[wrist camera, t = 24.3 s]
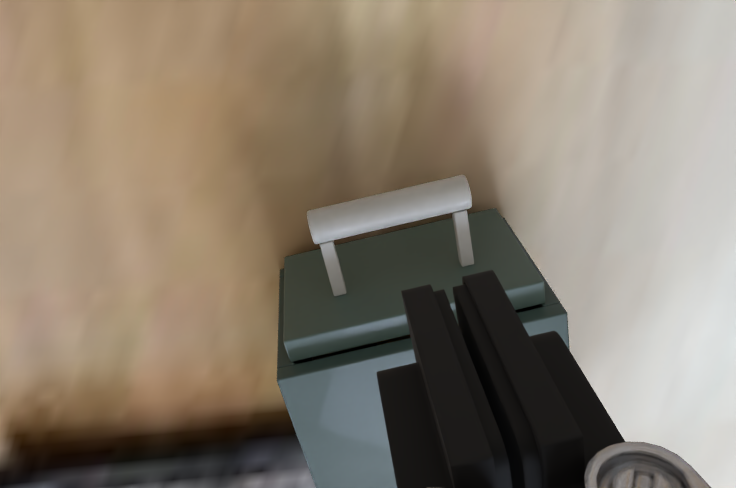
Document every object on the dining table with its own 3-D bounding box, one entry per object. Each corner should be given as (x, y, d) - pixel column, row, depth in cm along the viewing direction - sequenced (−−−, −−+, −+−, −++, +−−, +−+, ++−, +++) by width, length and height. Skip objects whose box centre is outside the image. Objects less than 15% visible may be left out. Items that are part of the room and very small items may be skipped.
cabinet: (279, 269, 35) (276, 380, 27) (504, 216, 35) (567, 312, 27) (338, 452, 42) (350, 583, 34) (525, 409, 42) (580, 529, 34)
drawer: (260, 182, 31) (253, 256, 25) (486, 129, 31) (537, 189, 25) (341, 436, 40) (350, 538, 34) (517, 395, 40) (560, 490, 34)
